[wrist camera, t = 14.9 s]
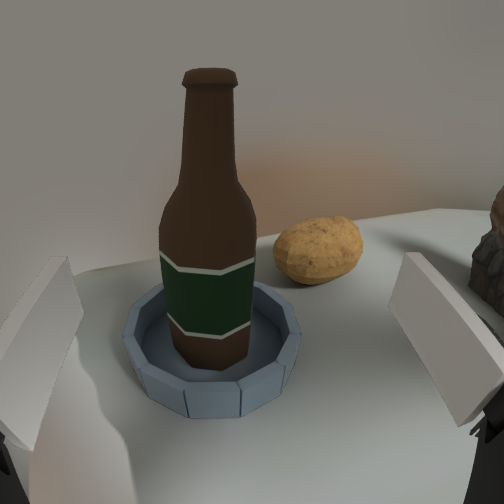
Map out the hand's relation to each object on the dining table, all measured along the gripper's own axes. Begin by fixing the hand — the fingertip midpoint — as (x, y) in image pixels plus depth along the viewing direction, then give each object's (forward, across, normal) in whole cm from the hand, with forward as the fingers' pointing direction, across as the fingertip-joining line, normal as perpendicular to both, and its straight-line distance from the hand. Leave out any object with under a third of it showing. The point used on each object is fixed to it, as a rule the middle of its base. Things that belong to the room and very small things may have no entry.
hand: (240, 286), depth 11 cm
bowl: (+12, -2, -17) cm, 21 cm away
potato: (+25, +12, -17) cm, 33 cm away
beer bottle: (+12, -2, -16) cm, 20 cm away
